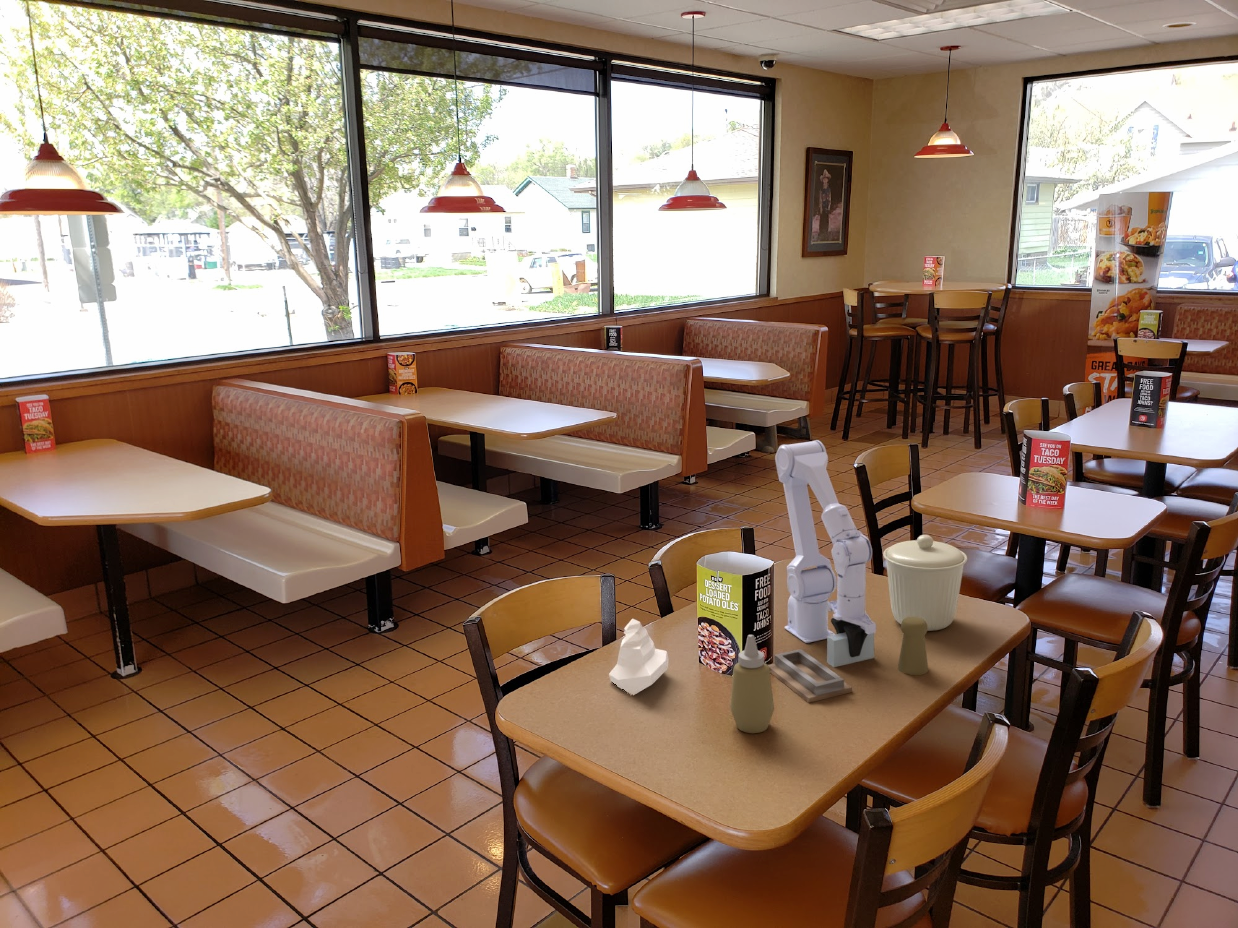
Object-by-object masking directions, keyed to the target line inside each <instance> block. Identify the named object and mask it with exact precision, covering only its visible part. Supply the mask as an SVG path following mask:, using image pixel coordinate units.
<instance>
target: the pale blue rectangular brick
mask: <svg viewBox="0 0 1238 928" xmlns="http://www.w3.org/2000/svg"><path fill="white" fill-rule="evenodd" d="M835 634H836V635H831V636H827V639H826V647H827V648H826V653H827V654H826V663H827V664H828V665H829V666H831V667H832V668H837V667H840V666H845V665H850V664H854V663H857V662H862V661H866V660H871V659H874V658H875V633H872V634H868V635H867V637H866V639H865V641H864V643H863V646H862V650H861V653H860V656H856V657H851V656H850V654H849V645H848V638H847V635H846V632H845V633H840V634H837V633H835Z"/></svg>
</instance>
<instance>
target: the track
mask: <svg viewBox="0 0 1238 928" xmlns="http://www.w3.org/2000/svg"><path fill="white" fill-rule="evenodd" d="M773 659H774V662H773V663H771V664H767V665H768V666H769V669H770V674H771V675H773V677H775V678H777V679H778V680H779V681H781V682H782V683H783V684H784V685H785V686H787V687H788V688H790V689H791V690H792V691H793V692H795V693H796V694H797V695H798V696H799V697H800V698H802V699H803V700H804V701H806V702H807V703H814V702H817V701H822V700H825V699H829V698H834V697H838V696H841V695H844V694H845V695H846V694H849V693H853V686H851V685H850V684H848V683H847V682H845V679H844V678H843V677H841V676H840V675H838V674H837V673H836V672H834V671H833V670H831V669H830V668H829V667H827V666H826V665H824V664H823V663H821V662H820V661H819V660H817V659H816V658H814V657H813V656H812V655H810V654H809V653H807V652H806V651H804V649H801V648H800V649H795V650H791V651H786V652H785V651H784V652H781V653H776V654H774V658H773Z"/></svg>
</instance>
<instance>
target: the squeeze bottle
mask: <svg viewBox="0 0 1238 928" xmlns="http://www.w3.org/2000/svg"><path fill="white" fill-rule="evenodd" d="M764 654H765V653H764V652H763V651H761V650H758V645H757V642H756V638H755V635H754V634H748V635H747V638H746V643H745V646H744V650H742V651H739V653H738V655H737V656H738V659H737V660H738V662H737V663H735V664H734V666H733V670H732V682H731V693H730V705H729V709H730V711H731V715H732V717H733V720H734V722H735V724H736V728H737V729H739V730H740V731H741V732H744V733H747V734H748V733H749V734H759V733H762V732H765V731H767V729H768V727H769V725H770V722H771V720H772V717H773V714H774V711H775V704H774V703H775V702H774V695H773V688H772V680H771V679H772V678H771V673H770V669H769V666H768V665H769V664H767V663H766V662H765V655H764Z"/></svg>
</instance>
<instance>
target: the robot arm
mask: <svg viewBox="0 0 1238 928" xmlns="http://www.w3.org/2000/svg"><path fill="white" fill-rule="evenodd" d="M774 459H775V466H776V473H777V476H778V481H779V482H780V483H782V485H783V490H784V496H785V501H786V507H787V514H788V518H789V525H790V529H791V534H792V540H793V546H794V551H795V552H794V553H795V557H794V558H793V559H792V560H791V562H789V564H788V565H787V566H786V572H787V573H786V574H787V579H786V587H787V590H788V593H789V594H790V596H789V598H788V600H787V625H785V626H784V629H785V630H787V631H788V632H789V633H790V634H792V635H793V636H795V637H796V638H797V639H799V640H801V641H802V642H804V643H805V644H809V643H812V642H818V641H823V640H827V636H831V635H836V634H840V633H845V632H846V635H847V638H848V645H849V654H850V656H851V657H856V656H860V653H861V650H862V646H863V643H864V641H865V639H866V637H867V635H868V634H872V633H874V634H876V633H877V624H876V623H875V622H874V621H873V620H872V619H871V618H870V616H869V615H868V613H867V612H866V582H867V581H866V577H867V576H866V574H867V573H866V572H867V570H866V569H867V563H869V562H870V561H871V560H872V558H873V557H872V556H873V548H872V545H871V541H870V539H869V538H868V537H867V536H866V535H864V534H863V533H862V531H860V530H858V529H857V527H856V524H855V522H854V521H853V517H852V516H851V514H850V512H849V510H848V507H847V506H845V505H844V504H841V503H839V500H838V497H837V495H836V491H835V489H834V487H833V486H834V485H833V484H832V481H831V478H830V475H829V473H828V470H827V467H828V464H829V463H828V462H829V456H828V454H827V450H826V447H825V445H824V443H822V441H821V440H818V439H816V440H812V441H805V442H798V443H792V444H791V443H790V444H781V445H779V447H778V449H777V451H776V453H775V456H774ZM808 485H809V487H810V489H811V491H812V492H813V494H814V496H815V497H816V500H817V501H818V503H819V504H820V506H821V508H822V513H821V516H820V517H821V520H822V522H823V525H824V527H825V531H826V532H827V534H828V536H829V539H830V540H831V543H832V545H833V546H832V549H830V551H831V557H832V559H833V562H834V563H833V564H834V570H835V571H834V570H833V567H832V562H831V560H830V559H829V558H827V557H826V556H824V555H823V554H821V553H820V550H819V545H818V538H817V534H816V528H815V523H814V516H813V510H812V506H811V501H810V500H811V499H810V494H809V489H808ZM835 572H836V573H837V574H835ZM836 575H837V576H836ZM835 590H836V591H837V592H836V596H837V597H836V600H830V601H829V598H831V597H832V593H834V592H835ZM829 612H833V614H832V618H831V619H830V623H831V624H832V626H833V627H834V630H835V632H836V633H835V632H833V631H831V630H830V629H829Z"/></svg>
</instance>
